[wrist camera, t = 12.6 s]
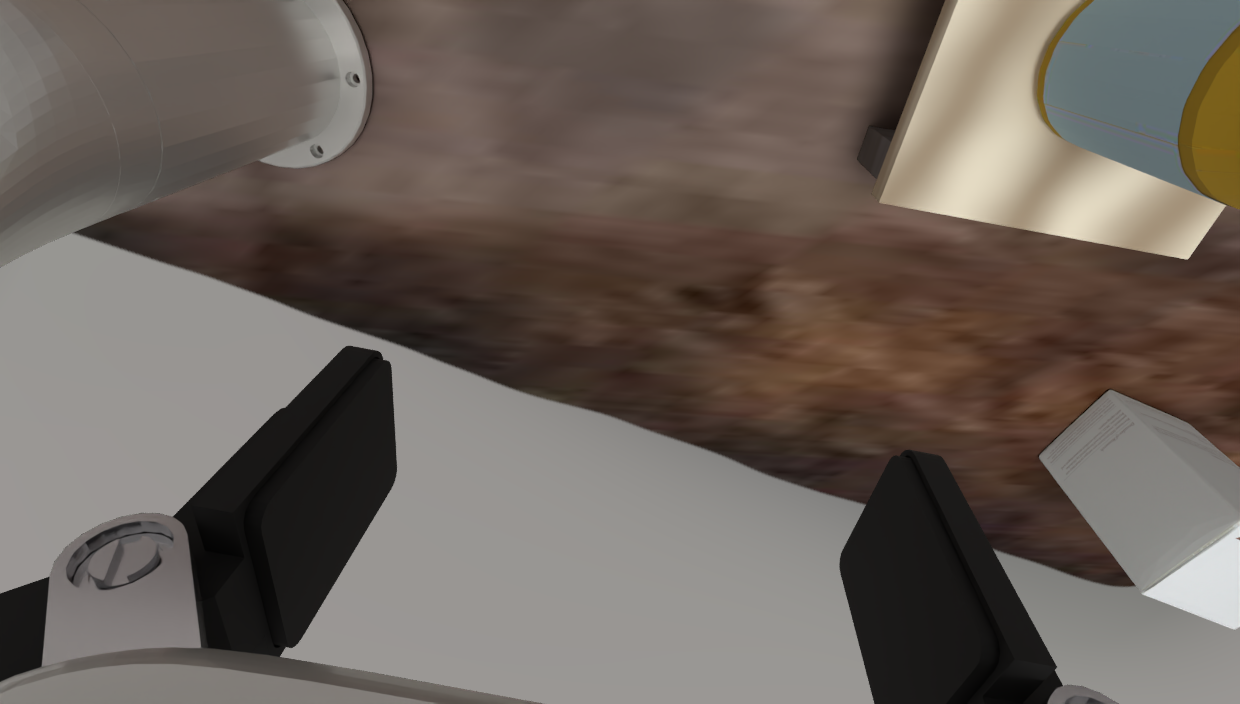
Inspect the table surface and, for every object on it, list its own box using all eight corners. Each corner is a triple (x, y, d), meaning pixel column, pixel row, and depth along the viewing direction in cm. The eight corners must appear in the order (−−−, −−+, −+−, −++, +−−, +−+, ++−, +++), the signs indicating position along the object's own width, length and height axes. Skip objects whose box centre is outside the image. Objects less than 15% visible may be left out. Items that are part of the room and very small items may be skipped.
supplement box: (1033, 456, 47) (1137, 595, 36) (1109, 385, 43) (1250, 517, 32) (1111, 489, 48) (1234, 634, 37) (1192, 423, 44) (1356, 563, 33)
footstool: (846, 166, 37) (878, 202, 31) (963, -168, 29) (1041, -214, 22) (1101, 213, 37) (1187, 259, 31) (1293, -109, 29) (1467, -138, 22)
